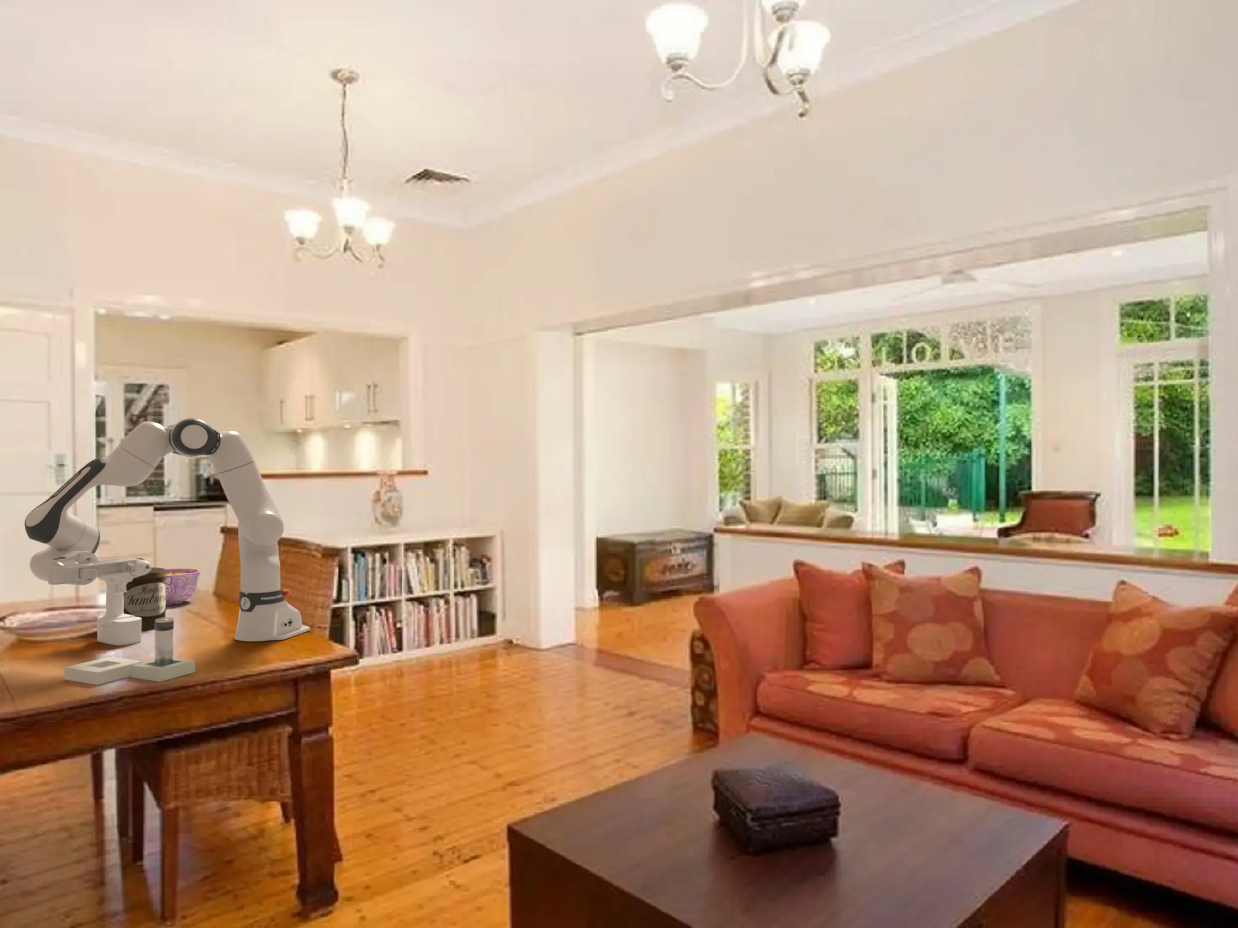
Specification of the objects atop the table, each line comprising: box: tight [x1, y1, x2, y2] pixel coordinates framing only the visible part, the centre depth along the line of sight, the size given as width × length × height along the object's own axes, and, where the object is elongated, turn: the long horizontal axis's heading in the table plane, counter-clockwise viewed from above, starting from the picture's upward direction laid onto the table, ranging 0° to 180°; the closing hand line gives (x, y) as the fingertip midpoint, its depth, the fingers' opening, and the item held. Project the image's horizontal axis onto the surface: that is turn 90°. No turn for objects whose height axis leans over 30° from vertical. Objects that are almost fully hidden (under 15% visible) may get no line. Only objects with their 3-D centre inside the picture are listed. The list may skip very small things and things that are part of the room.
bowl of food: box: [164, 568, 201, 606], centre depth 314 cm, size 20×20×12 cm
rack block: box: [130, 657, 196, 683], centre depth 213 cm, size 10×10×3 cm
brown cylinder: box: [124, 557, 167, 631], centre depth 271 cm, size 15×15×22 cm
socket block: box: [63, 656, 144, 686], centre depth 211 cm, size 12×12×3 cm
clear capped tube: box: [154, 617, 175, 667], centre depth 213 cm, size 4×4×14 cm
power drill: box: [96, 558, 152, 647], centre depth 248 cm, size 8×24×25 cm, turn 58°
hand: (116, 570), depth 219 cm, fingers open, 8 cm apart
